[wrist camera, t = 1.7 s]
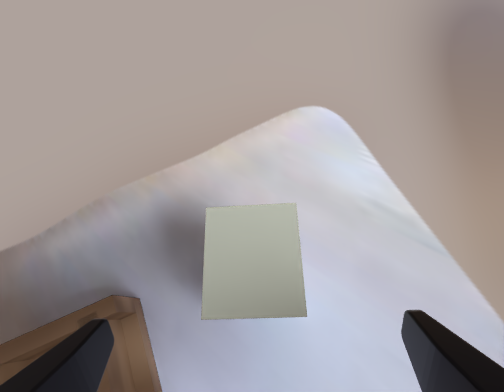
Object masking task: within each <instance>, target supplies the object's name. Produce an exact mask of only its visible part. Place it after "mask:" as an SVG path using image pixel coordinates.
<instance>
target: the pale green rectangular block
mask: <svg viewBox="0 0 504 392" xmlns="http://www.w3.org/2000/svg"><path fill="white" fill-rule="evenodd" d="M282 317H307V310H306V300H305V289H304V279H303V269H302V258H301V248H300V237H299V227H298V216H297V206H296V203H283V204H265V205H247V206H228V207H210V208H206V220H205V243H204V265H203V288H202V311H201V320H209V319H245V318H282Z"/></svg>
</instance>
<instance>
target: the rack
mask: <svg viewBox="0 0 504 392" xmlns="http://www.w3.org/2000/svg"><path fill="white" fill-rule="evenodd" d="M103 318H105V319H107V320H108V321H109V324H110V327H111V330H112V332H113V335H114V346H113V349H112V352H111V354H110V357H109V360H108V363H107V366H106V368H105V371H104V374H103V377H102V379H101V382H100V385H99V388H98V391H97V392H162V389H161V385H160V380H159V376H158V372H157V368H156V364H155V360H154V356H153V352H152V348H151V343H150V339H149V335H148V331H147V327H146V323H145V319H144V315H143V311H142V306H141V302H140V299H139V298H132V297H124V296H116V295H111V296H109V297H107V298H105V299H102V300H100V301H98V302H96V303H93V304H91V305H89V306H87V307H84V308H82V309H80V310H78V311H75V312H73V313H71V314H69V315H66V316H64V317H62V318H60V319H57V320H55V321H53V322H51V323H48V324H46V325H44V326H42V327H39V328H37V329H35V330H33V331H30V332H28V333H26V334H24V335H21V336H19V337H17V338H15V339H12V340H10V341H8V342H6V343H3V344H1V345H0V385H1V384H3V383H4V382H5V381H7V380H8V379H10V378H11V377H12V376H14V375H15V374H17V373H18V372H19V371H21V370H22V369H24V368H25V367H26V366H28V365H29V364H31V363H32V362H33V361H35V360H36V359H38V358H39V357H40V356H42V355H43V354H45V353H46V352H47V351H49V350H50V349H52V348H53V347H54V346H56V345H57V344H58V343H60V342H61V341H63V340H64V339H65V338H67V337H68V336H70V335H71V334H72V333H74V332H75V331H77V330H78V329H79V328H81V327H82V326H84V325H85V324H86V323H88V322H89V321H91V320H92V319H103Z"/></svg>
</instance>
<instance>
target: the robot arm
mask: <svg viewBox="0 0 504 392" xmlns="http://www.w3.org/2000/svg"><path fill="white" fill-rule="evenodd" d="M401 334H402V339H403V342H404V345H405V347H406V350H407V353H408V355H409V358H410V361H411V363H412V366H413V369H414V371H415V374H416V377H417V380H418V382H419V385H420V388H421V390H422V392H504V368H503V367H501V366H500V365H499V364H497V363H496V362H494V361H493V360H491V359H490V358H489V357H487V356H486V355H484V354H483V353H482V352H480V351H479V350H477V349H476V348H474V347H473V346H472V345H470V344H469V343H467V342H466V341H464V340H463V339H462V338H460V337H459V336H457V335H456V334H455V333H453V332H452V331H450V330H449V329H447V328H446V327H445V326H443V325H442V324H440V323H439V322H437V321H436V320H435V319H433V318H432V317H430V316H429V315H428V314H426V313H425V312H423V311H421V310H407V311H405V313H404V318H403V324H402V330H401ZM113 346H114V335H113V332H112V330H111V327H110V324H109V321H108V320H107V319H105V318H103V319H92V320H91V321H89V322H88V323H86V324H85V325H84V326H82V327H81V328H79V329H78V330H77V331H75V332H74V333H72V334H71V335H70V336H68V337H67V338H65V339H64V340H63V341H61V342H60V343H58V344H57V345H56V346H54V347H53V348H52V349H50V350H49V351H47V352H46V353H45V354H43V355H42V356H40V357H39V358H38V359H36V360H35V361H33V362H32V363H31V364H29V365H28V366H26V367H25V368H24V369H22V370H21V371H19V372H18V373H17V374H15V375H14V376H12V377H11V378H10V379H8V380H7V381H5V382H4V383H3V384H1V385H0V392H97V391H98V388H99V385H100V382H101V379H102V377H103V374H104V371H105V368H106V366H107V363H108V360H109V357H110V354H111V352H112V349H113Z"/></svg>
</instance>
